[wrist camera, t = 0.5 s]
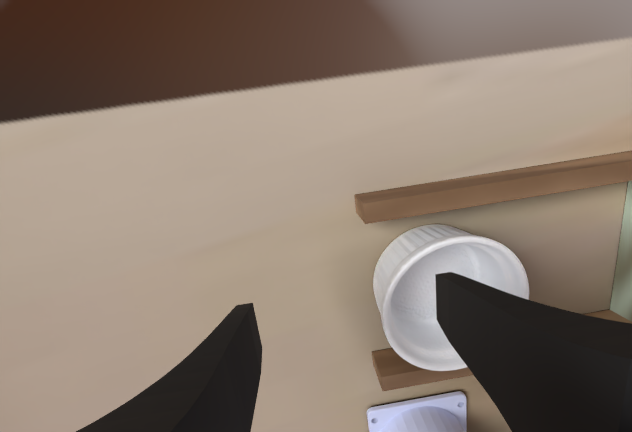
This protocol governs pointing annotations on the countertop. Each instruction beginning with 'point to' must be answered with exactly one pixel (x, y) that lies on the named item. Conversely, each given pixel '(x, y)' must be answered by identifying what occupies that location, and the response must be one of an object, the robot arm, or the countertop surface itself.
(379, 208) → the channel
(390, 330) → the ramekin
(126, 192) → the countertop surface
